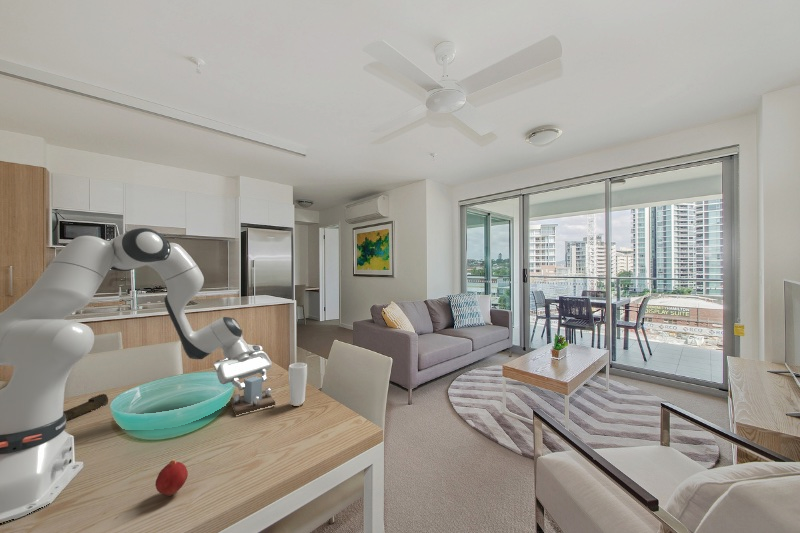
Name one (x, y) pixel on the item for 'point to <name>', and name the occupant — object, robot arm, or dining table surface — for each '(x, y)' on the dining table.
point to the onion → (171, 478)
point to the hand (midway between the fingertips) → (254, 384)
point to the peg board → (244, 407)
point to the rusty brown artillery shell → (86, 406)
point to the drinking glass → (297, 382)
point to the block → (252, 388)
